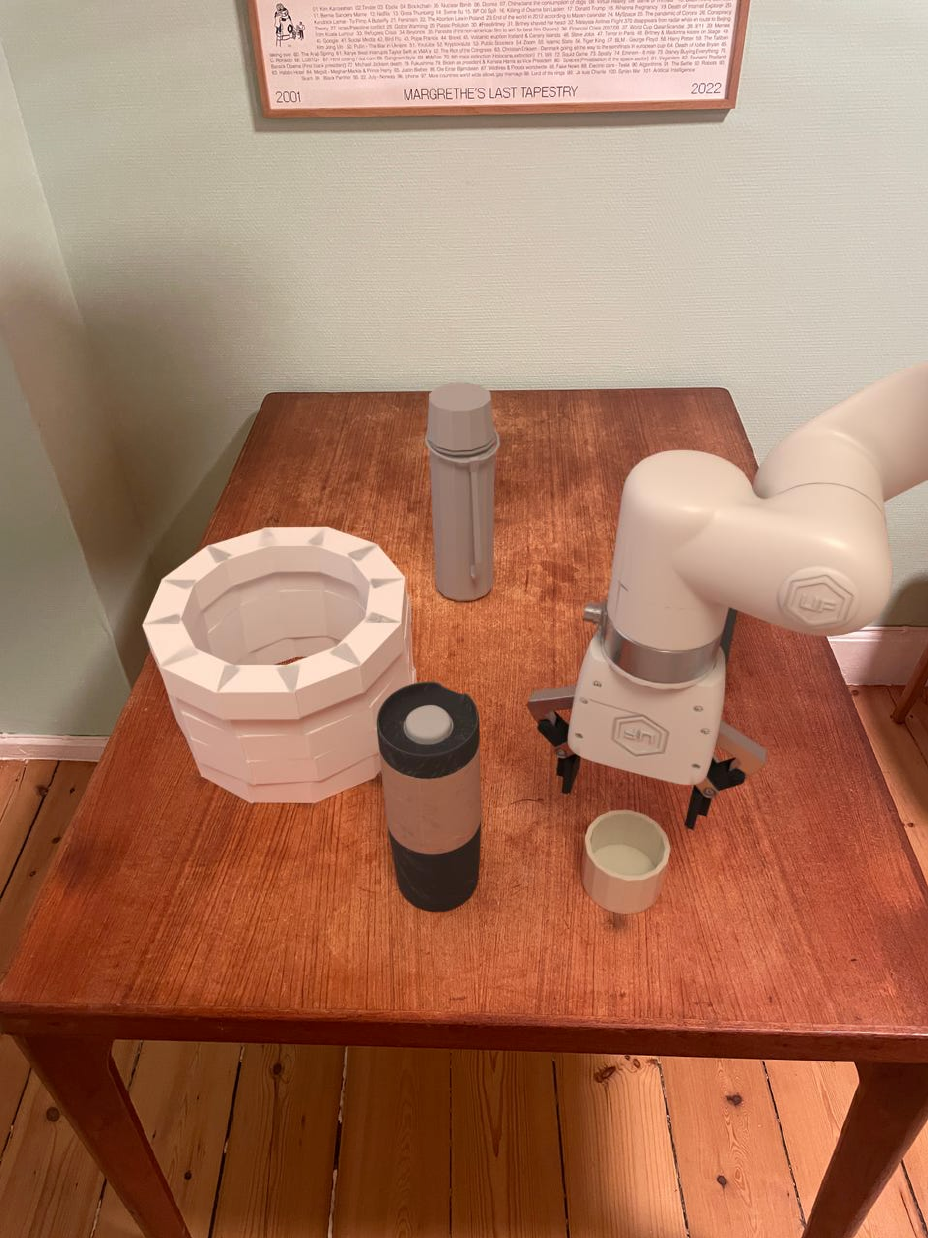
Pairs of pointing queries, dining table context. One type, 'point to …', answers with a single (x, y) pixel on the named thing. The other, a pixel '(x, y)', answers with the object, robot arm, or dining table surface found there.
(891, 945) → the dining table surface
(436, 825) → the travel mug
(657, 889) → the bowl
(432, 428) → the water bottle
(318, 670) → the container
